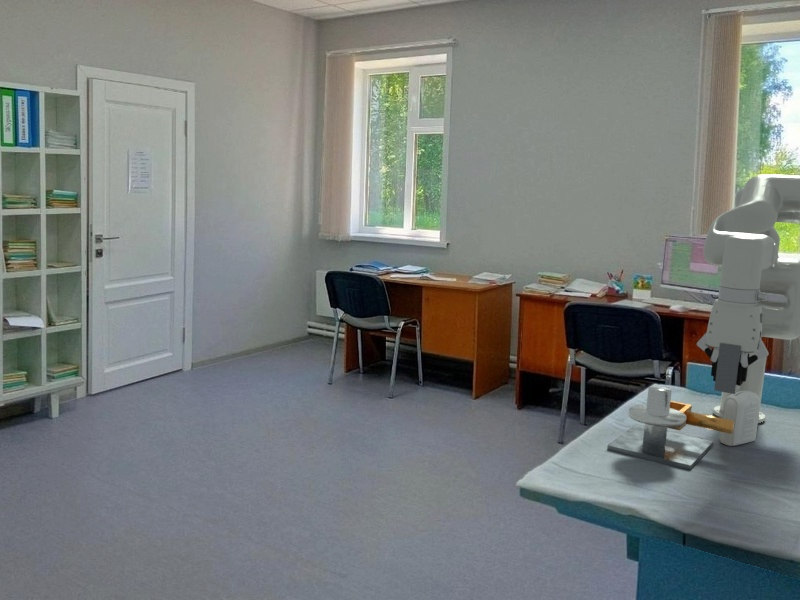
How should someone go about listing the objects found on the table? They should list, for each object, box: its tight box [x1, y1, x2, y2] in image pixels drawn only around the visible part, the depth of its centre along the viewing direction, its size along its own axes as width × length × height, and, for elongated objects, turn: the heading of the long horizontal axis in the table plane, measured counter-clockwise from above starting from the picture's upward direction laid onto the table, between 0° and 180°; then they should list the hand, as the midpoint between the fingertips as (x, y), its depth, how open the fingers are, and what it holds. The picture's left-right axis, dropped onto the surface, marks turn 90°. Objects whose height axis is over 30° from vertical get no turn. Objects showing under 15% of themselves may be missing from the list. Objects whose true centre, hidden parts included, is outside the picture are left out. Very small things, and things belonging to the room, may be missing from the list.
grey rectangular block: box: [713, 343, 741, 394], centre depth 157 cm, size 5×4×10 cm
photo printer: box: [719, 391, 761, 447], centre depth 177 cm, size 10×4×12 cm, turn 123°
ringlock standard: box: [606, 385, 734, 471], centre depth 169 cm, size 22×23×15 cm
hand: (727, 381), depth 158 cm, fingers closed on grey rectangular block, 4 cm apart
